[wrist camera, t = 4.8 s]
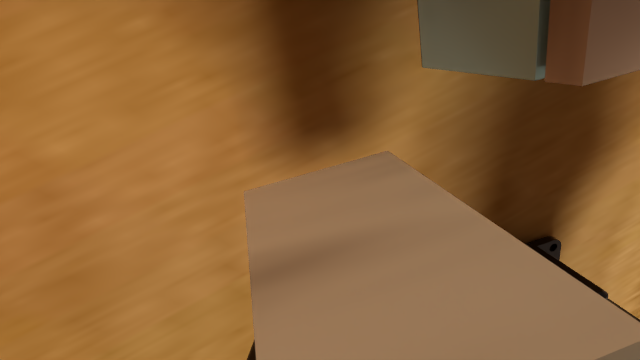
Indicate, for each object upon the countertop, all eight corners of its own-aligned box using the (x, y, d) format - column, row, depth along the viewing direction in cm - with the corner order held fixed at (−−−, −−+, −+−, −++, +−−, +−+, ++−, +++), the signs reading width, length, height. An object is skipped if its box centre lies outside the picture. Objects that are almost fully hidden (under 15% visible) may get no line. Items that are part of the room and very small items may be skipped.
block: (408, 311, 12) (585, 581, 6) (296, 351, 11) (368, 693, 5) (387, 150, 9) (657, 333, 3) (243, 191, 9) (266, 495, 3)
